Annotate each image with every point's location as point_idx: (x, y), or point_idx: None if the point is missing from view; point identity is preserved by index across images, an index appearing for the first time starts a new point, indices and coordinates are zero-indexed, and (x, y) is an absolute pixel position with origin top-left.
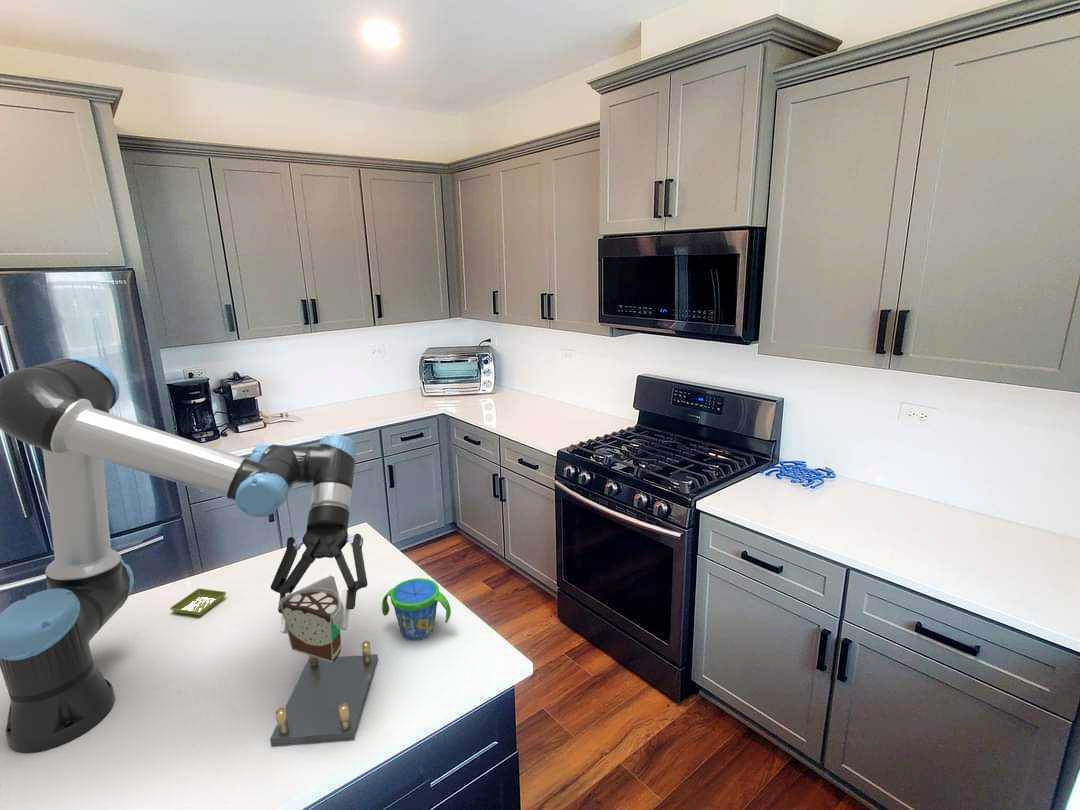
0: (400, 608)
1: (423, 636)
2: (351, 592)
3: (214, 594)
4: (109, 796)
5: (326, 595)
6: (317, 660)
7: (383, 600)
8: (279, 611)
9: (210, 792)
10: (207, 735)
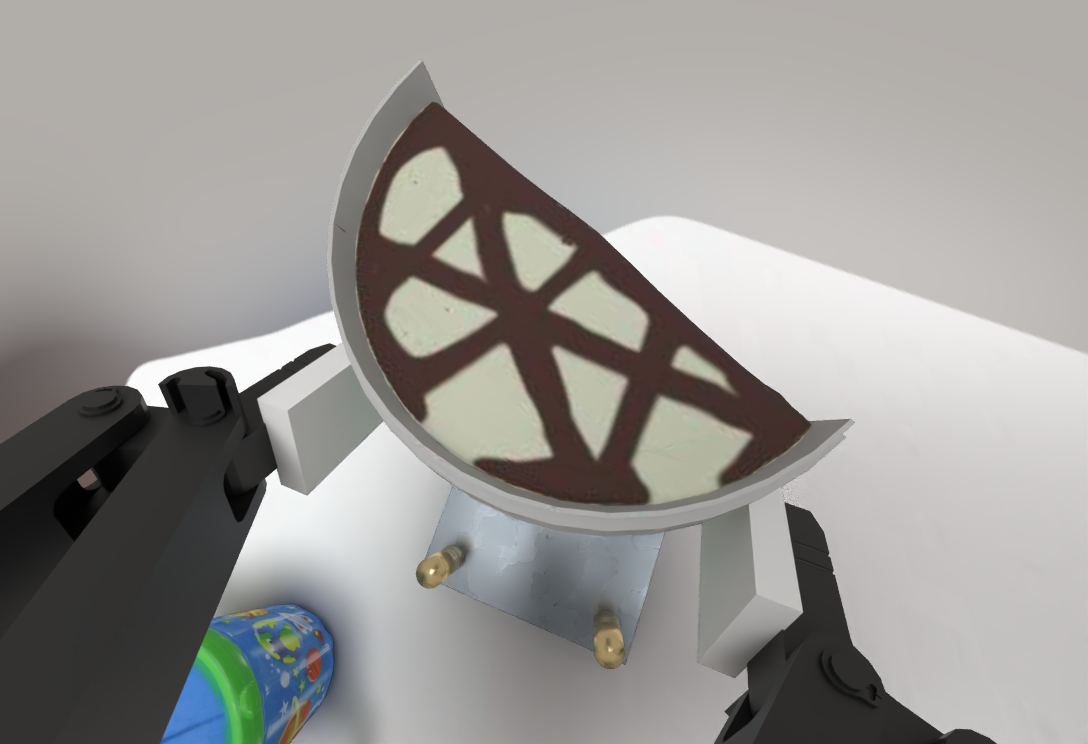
0: (242, 664)
1: (278, 605)
2: (256, 401)
3: None
4: (1077, 363)
5: (426, 394)
6: (596, 621)
7: None
8: (805, 511)
9: (828, 286)
10: (885, 470)
